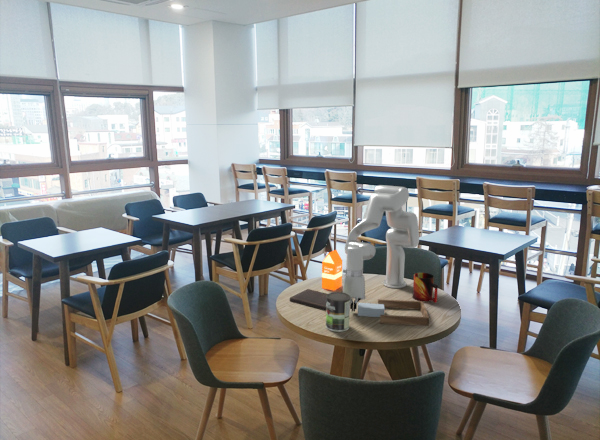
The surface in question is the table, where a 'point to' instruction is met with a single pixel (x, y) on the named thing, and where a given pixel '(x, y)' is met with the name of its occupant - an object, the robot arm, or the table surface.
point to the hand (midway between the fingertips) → (353, 310)
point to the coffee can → (337, 311)
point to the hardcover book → (311, 299)
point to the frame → (404, 319)
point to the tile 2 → (377, 310)
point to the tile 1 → (364, 309)
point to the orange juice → (332, 271)
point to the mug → (424, 287)
